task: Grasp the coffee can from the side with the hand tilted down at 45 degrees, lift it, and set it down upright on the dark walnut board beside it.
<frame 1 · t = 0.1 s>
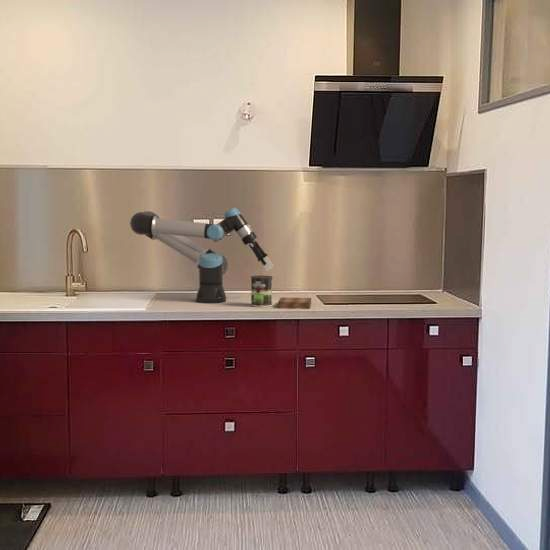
hand: (270, 268, 371), 15 cm above the worktop, tool tilted 35°, fingers open, 13 cm apart
walnut board: (294, 306, 346), on the worktop
coffee can: (261, 306, 348), on the worktop
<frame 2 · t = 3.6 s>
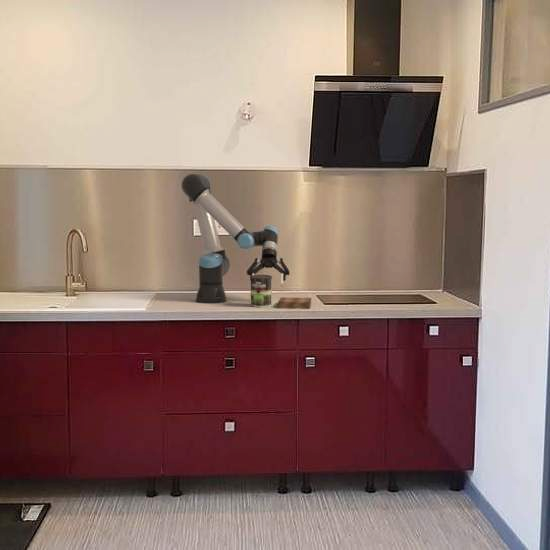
hand: (267, 285, 349), 9 cm above the worktop, tool tilted 45°, fingers open, 13 cm apart
coffee can: (261, 305, 347), on the worktop, touching gripper
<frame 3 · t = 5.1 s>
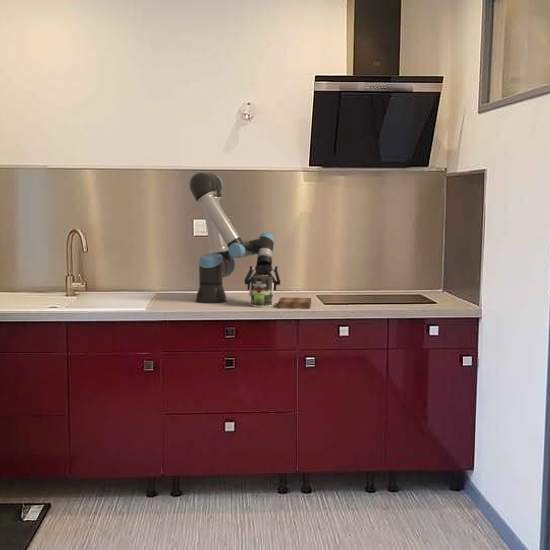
hand: (261, 295, 344), 6 cm above the worktop, tool tilted 45°, fingers closed on coffee can, 10 cm apart
coffee can: (261, 306, 347), on the worktop, touching gripper
when the fingers open (10 cm above the worktop, at t = 10.3 s): coffee can drops 1 cm, resting on walnut board.
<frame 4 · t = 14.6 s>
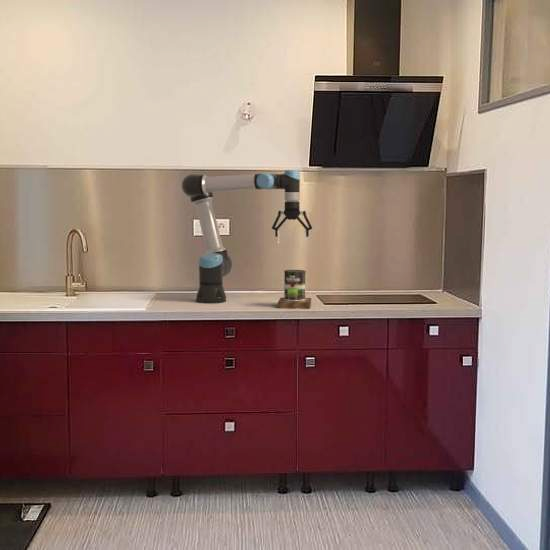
hand: (291, 243, 363), 29 cm above the worktop, tool pointing down, fingers open, 13 cm apart
coffee can: (294, 300, 346), point 3 cm above the worktop, touching walnut board
at the end: coffee can inside the target area on the walnut board (0.2 cm from its centre), point 2.8 cm above the walnut board's base; coffee can tilted 0°; the gripper is holding nothing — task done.
